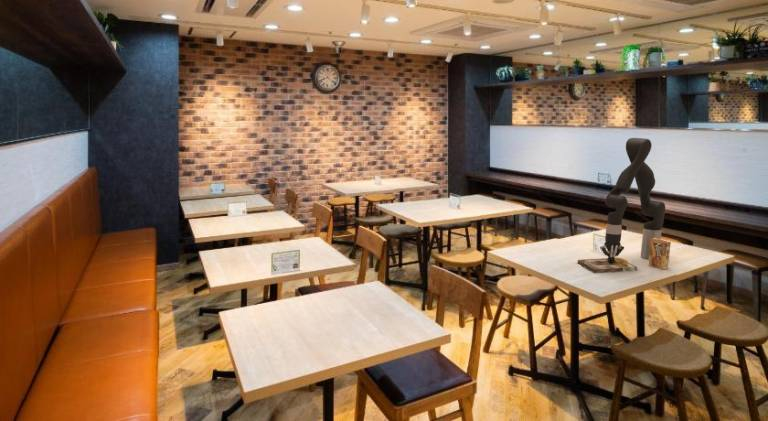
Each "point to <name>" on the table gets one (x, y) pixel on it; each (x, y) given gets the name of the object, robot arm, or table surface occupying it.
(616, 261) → the ochre block
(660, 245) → the candy box
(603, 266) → the compartment board
